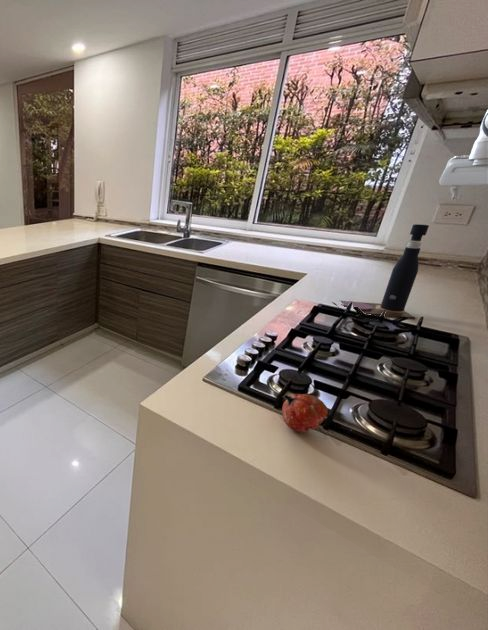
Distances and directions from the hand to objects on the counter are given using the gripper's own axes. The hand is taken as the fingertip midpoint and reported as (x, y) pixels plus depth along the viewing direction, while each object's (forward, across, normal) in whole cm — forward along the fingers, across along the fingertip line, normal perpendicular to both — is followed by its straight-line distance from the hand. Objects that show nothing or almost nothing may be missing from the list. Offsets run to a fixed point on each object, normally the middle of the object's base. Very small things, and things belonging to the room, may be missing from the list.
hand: (473, 200), depth 107 cm
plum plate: (+39, -11, -19) cm, 45 cm away
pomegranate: (+39, +44, -93) cm, 111 cm away
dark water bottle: (+38, -6, -9) cm, 39 cm away
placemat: (+39, -9, -15) cm, 43 cm away
